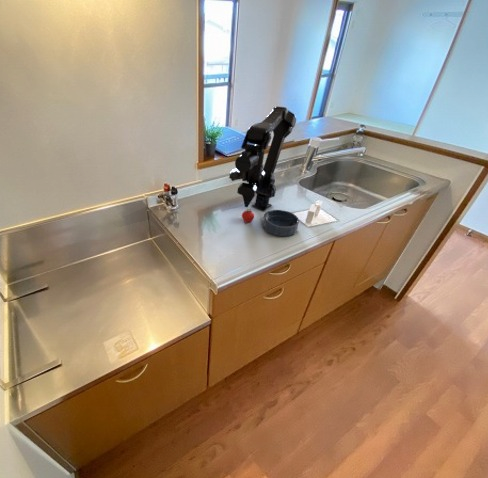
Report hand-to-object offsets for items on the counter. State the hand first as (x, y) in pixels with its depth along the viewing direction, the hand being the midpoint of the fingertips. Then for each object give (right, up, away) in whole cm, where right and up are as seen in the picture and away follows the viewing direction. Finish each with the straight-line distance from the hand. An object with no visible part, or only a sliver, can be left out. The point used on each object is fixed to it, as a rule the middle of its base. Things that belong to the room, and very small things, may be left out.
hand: (249, 201), depth 107 cm
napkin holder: (+29, -5, +8) cm, 31 cm away
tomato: (0, -7, +6) cm, 9 cm away
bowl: (+12, -10, +2) cm, 16 cm away
